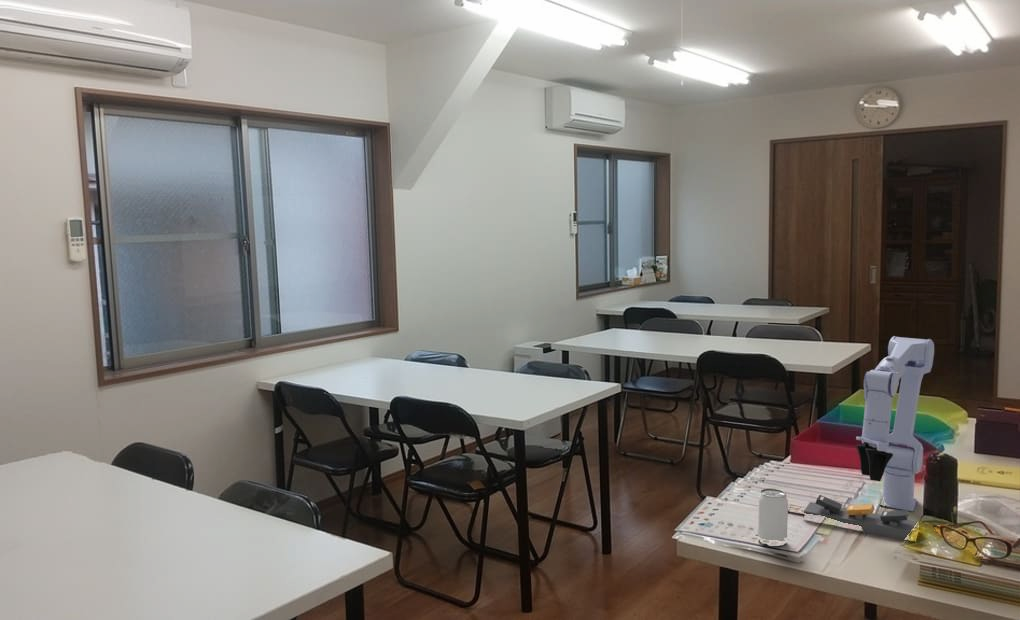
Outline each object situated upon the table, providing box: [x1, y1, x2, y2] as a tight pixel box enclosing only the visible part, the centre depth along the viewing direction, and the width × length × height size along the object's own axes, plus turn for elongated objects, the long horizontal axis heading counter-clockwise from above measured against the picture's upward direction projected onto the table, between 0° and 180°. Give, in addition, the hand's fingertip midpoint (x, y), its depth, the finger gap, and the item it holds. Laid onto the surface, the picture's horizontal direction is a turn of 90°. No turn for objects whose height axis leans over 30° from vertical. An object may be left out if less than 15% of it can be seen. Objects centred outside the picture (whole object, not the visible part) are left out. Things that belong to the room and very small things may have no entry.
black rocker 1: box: [814, 494, 843, 513], centre depth 187 cm, size 4×6×2 cm, turn 56°
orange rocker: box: [846, 503, 875, 516], centre depth 183 cm, size 4×6×2 cm, turn 56°
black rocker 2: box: [880, 510, 909, 522], centre depth 179 cm, size 4×6×2 cm, turn 56°
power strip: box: [803, 501, 918, 541], centre depth 185 cm, size 7×30×4 cm, turn 56°
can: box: [757, 488, 789, 540], centre depth 175 cm, size 6×6×12 cm
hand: (870, 477), depth 178 cm, fingers open, 7 cm apart
